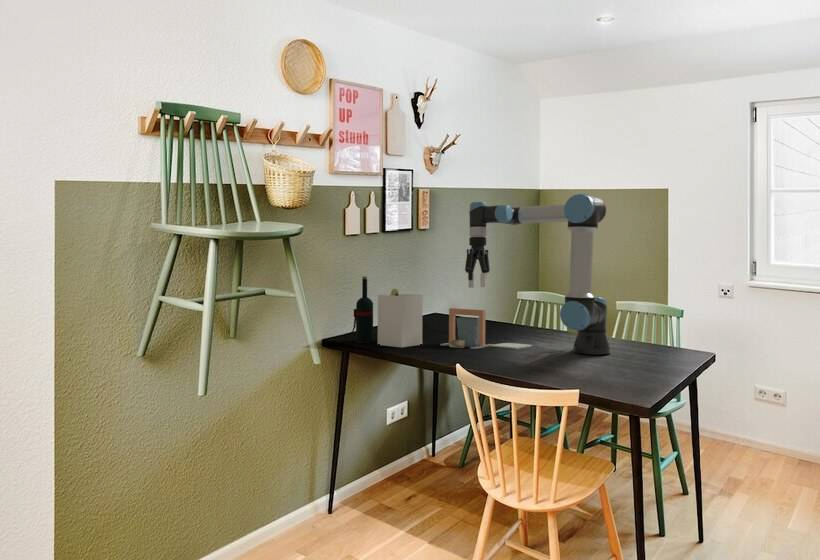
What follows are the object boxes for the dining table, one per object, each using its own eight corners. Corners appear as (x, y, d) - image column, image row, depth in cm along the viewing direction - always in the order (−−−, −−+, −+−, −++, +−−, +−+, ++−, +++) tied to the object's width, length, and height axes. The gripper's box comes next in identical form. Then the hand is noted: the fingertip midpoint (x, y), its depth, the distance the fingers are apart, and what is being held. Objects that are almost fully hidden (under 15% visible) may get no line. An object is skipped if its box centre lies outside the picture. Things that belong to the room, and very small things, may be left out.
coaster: (532, 346, 281) (532, 344, 281) (516, 349, 271) (516, 347, 271) (506, 343, 289) (506, 342, 289) (490, 346, 279) (490, 345, 279)
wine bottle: (355, 341, 296) (355, 276, 296) (375, 342, 293) (376, 276, 292) (348, 343, 289) (348, 276, 288) (369, 344, 286) (369, 276, 285)
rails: (494, 345, 282) (494, 344, 282) (474, 348, 271) (474, 347, 271) (460, 342, 294) (460, 341, 294) (440, 345, 283) (440, 344, 283)
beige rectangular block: (483, 344, 287) (483, 337, 287) (460, 348, 274) (460, 341, 274) (472, 343, 291) (472, 336, 291) (449, 346, 277) (449, 339, 277)
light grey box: (422, 344, 286) (422, 295, 285) (401, 347, 275) (401, 295, 274) (398, 342, 295) (398, 294, 294) (377, 344, 284) (377, 294, 284)
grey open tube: (452, 346, 281) (452, 318, 280) (465, 343, 289) (464, 316, 289) (472, 347, 275) (472, 319, 274) (484, 344, 283) (484, 317, 282)
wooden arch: (485, 345, 277) (485, 310, 277) (482, 345, 276) (482, 310, 275) (451, 341, 289) (451, 308, 288) (448, 342, 287) (449, 308, 287)
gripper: (484, 238, 298) (483, 286, 298) (456, 236, 282) (456, 287, 282) (498, 237, 293) (497, 287, 294) (470, 235, 277) (470, 288, 277)
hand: (477, 287), depth 288 cm, fingers open, 9 cm apart
